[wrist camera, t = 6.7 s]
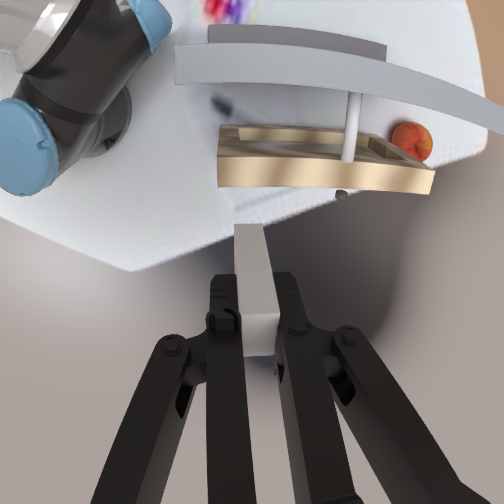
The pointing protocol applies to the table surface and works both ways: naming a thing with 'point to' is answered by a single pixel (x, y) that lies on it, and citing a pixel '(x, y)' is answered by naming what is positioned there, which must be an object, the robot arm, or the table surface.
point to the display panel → (325, 72)
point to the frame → (315, 161)
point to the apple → (413, 140)
